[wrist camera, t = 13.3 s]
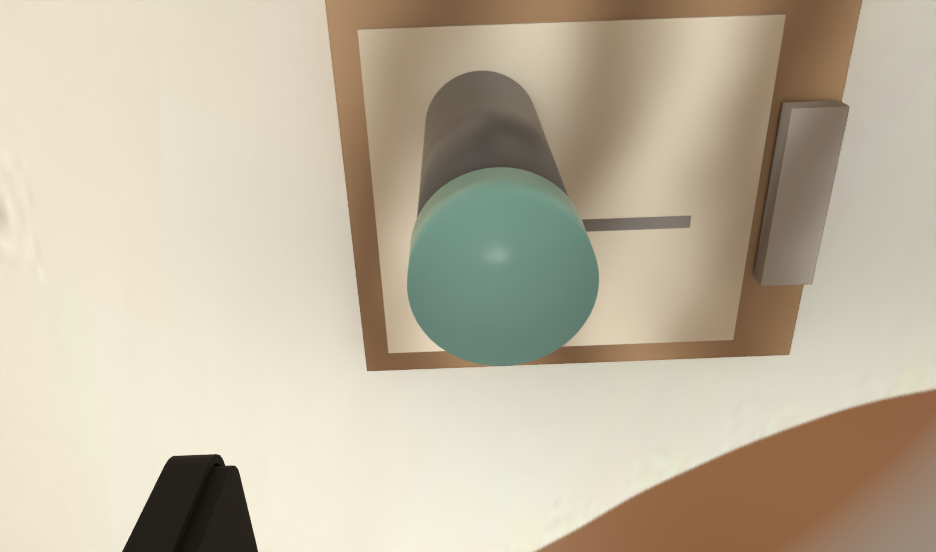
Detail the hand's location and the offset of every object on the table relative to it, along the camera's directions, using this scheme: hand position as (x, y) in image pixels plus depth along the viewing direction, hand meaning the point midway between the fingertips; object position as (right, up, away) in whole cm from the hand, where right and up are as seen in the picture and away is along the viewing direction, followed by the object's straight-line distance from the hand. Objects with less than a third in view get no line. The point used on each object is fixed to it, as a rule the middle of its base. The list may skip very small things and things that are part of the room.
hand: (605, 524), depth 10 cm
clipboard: (+3, +7, +20) cm, 21 cm away
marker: (-1, +8, +17) cm, 19 cm away
